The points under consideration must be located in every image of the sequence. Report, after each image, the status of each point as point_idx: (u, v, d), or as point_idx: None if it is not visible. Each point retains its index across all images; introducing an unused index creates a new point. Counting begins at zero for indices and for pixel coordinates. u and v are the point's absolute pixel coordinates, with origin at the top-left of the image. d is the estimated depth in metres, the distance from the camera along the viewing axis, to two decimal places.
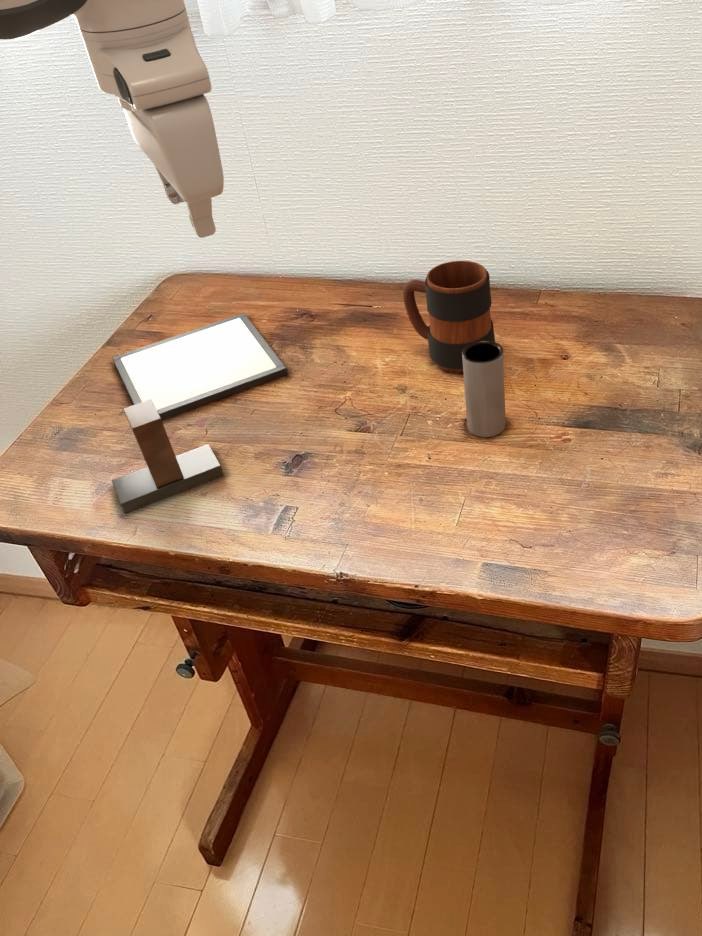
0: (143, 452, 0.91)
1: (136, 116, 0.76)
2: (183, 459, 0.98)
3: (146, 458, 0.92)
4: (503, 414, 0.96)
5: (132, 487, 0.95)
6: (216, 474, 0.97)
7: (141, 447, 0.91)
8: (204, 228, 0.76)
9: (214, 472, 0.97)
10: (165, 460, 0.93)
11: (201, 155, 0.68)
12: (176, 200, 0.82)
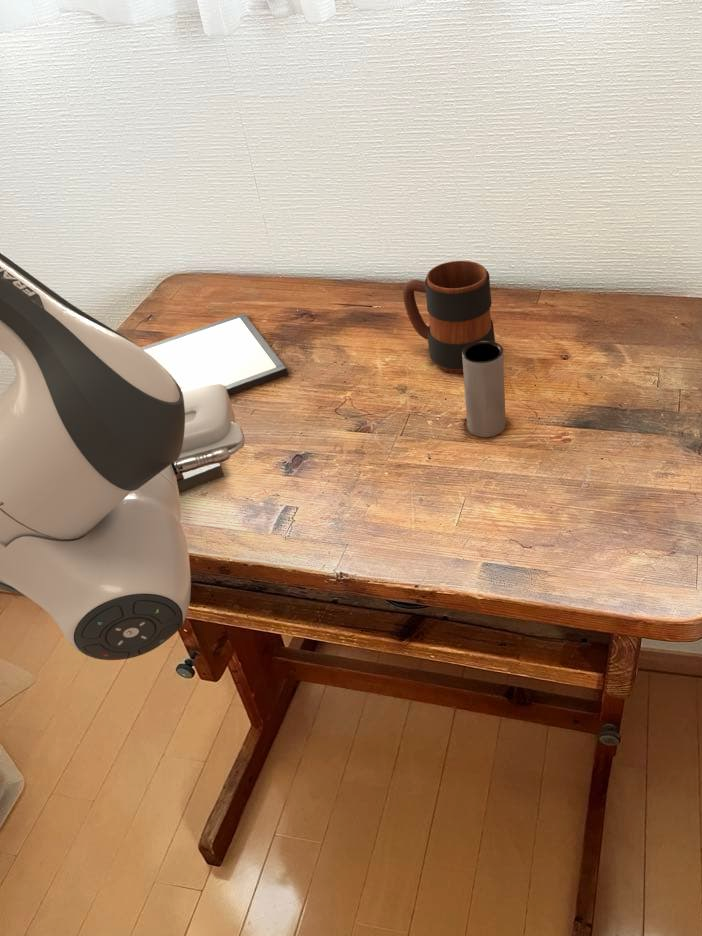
0: None
1: None
2: None
3: None
4: (503, 414, 0.96)
5: None
6: (216, 474, 0.97)
7: None
8: None
9: (214, 472, 0.97)
10: None
11: None
12: None
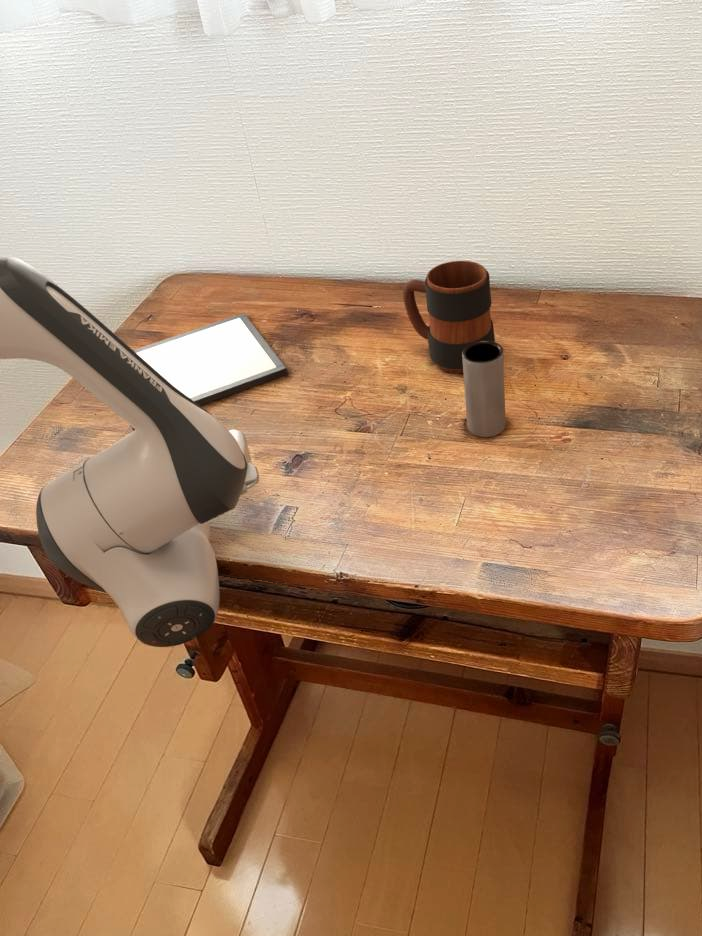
0: None
1: None
2: None
3: None
4: (503, 414, 0.96)
5: None
6: None
7: None
8: None
9: None
10: None
11: None
12: None
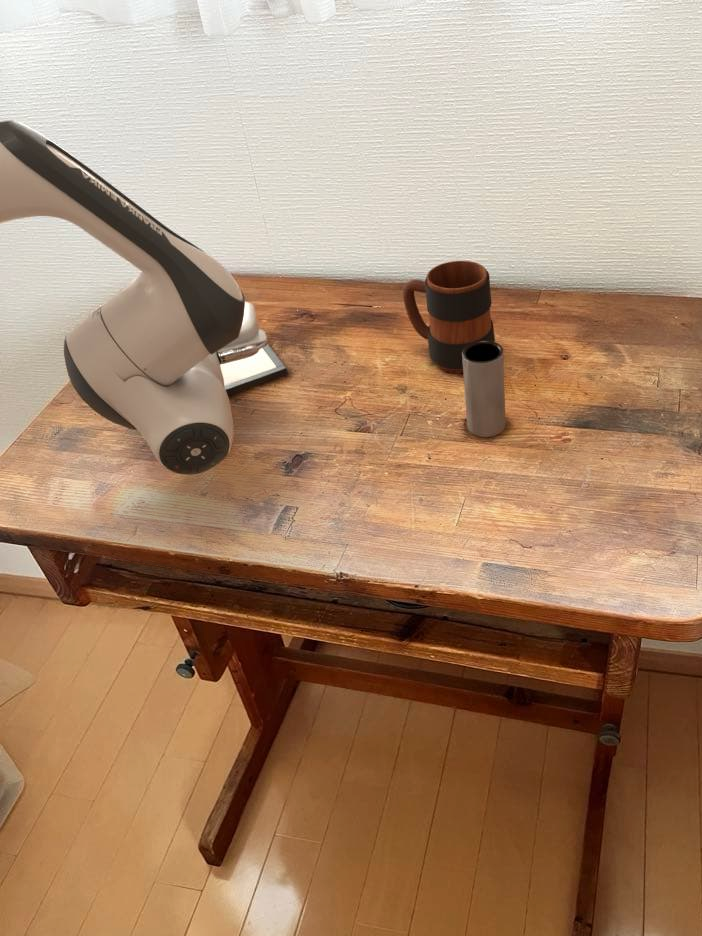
0: None
1: None
2: None
3: None
4: (503, 414, 0.96)
5: None
6: None
7: None
8: None
9: None
10: None
11: None
12: None
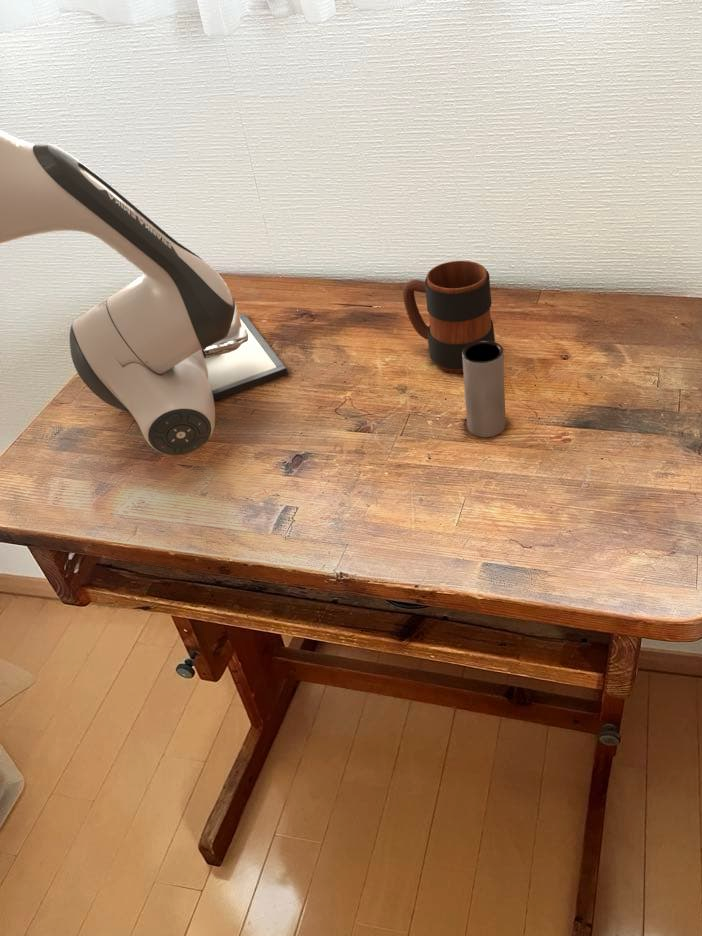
0: None
1: None
2: None
3: None
4: (503, 414, 0.96)
5: None
6: None
7: None
8: None
9: None
10: None
11: None
12: None
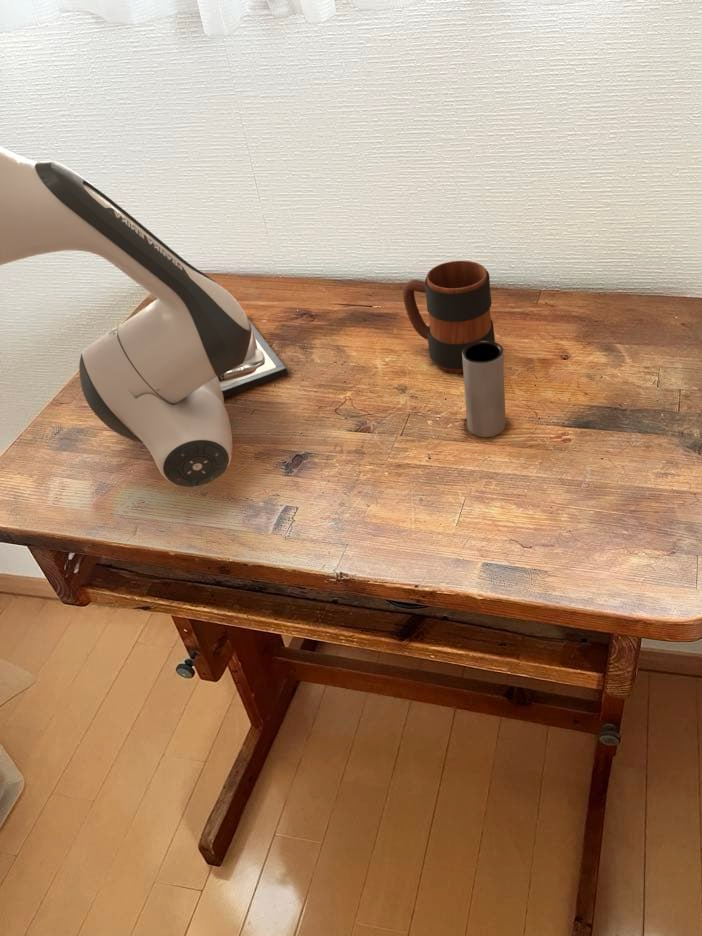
0: None
1: None
2: None
3: None
4: (503, 414, 0.96)
5: None
6: None
7: None
8: None
9: None
10: None
11: None
12: None
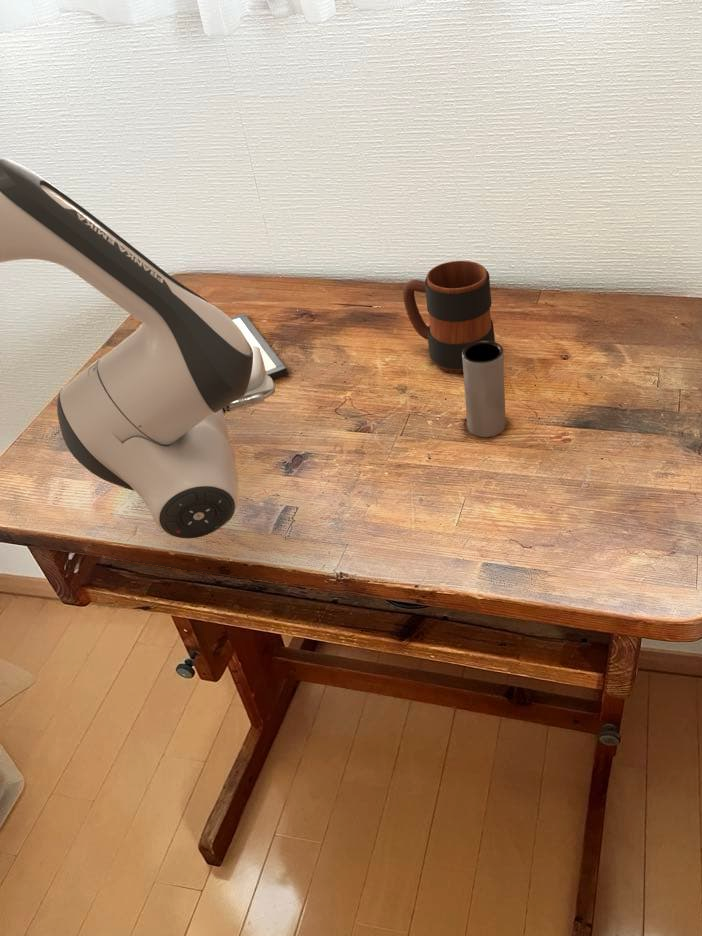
0: None
1: None
2: None
3: None
4: (503, 414, 0.96)
5: None
6: None
7: None
8: None
9: None
10: None
11: None
12: None
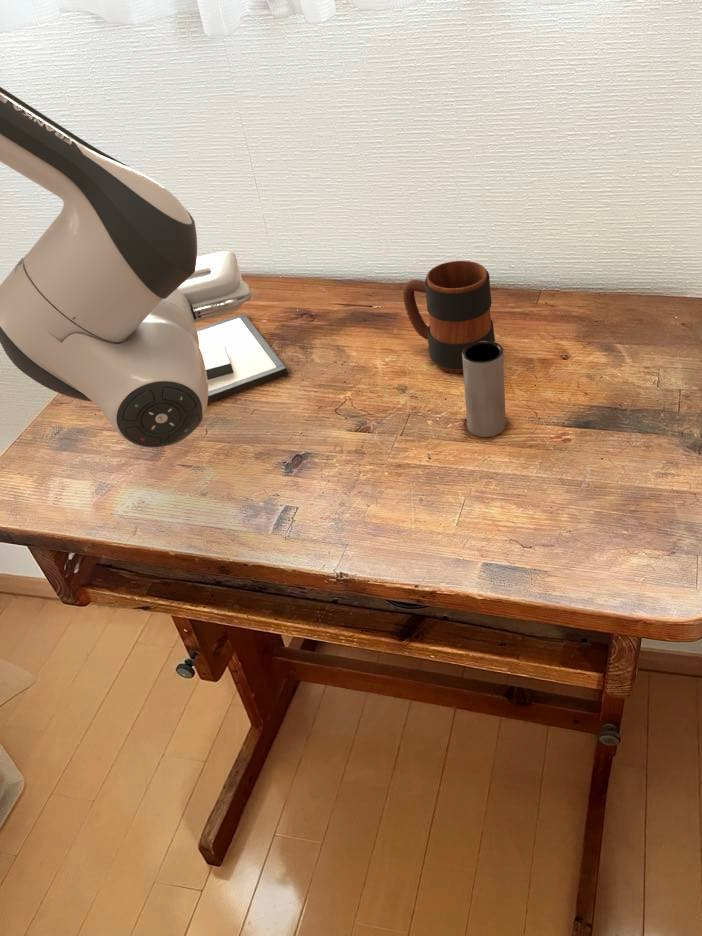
0: None
1: None
2: None
3: None
4: (503, 414, 0.96)
5: None
6: (227, 371, 1.11)
7: None
8: None
9: (225, 368, 1.11)
10: None
11: None
12: None
